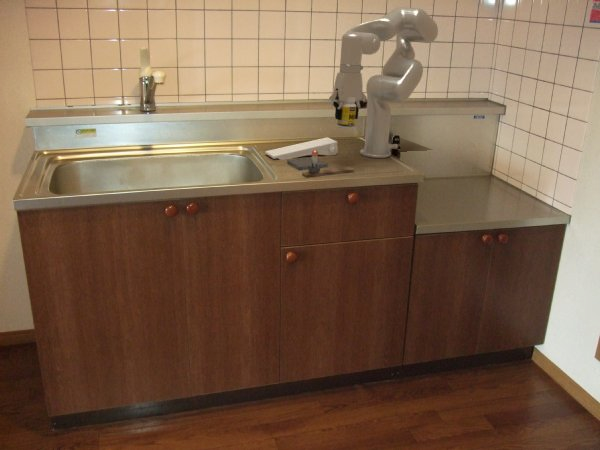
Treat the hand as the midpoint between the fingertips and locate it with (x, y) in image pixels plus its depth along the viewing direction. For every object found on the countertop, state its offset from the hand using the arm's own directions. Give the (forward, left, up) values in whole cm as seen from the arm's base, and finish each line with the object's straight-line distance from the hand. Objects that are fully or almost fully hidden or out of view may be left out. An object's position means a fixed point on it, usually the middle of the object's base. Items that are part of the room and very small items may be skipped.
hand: (346, 118), depth 225 cm
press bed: (+13, -5, -18) cm, 23 cm away
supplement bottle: (0, 0, -3) cm, 3 cm away
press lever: (+17, +8, -16) cm, 25 cm away
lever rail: (+11, +8, -18) cm, 22 cm away
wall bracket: (+8, -19, -19) cm, 28 cm away
